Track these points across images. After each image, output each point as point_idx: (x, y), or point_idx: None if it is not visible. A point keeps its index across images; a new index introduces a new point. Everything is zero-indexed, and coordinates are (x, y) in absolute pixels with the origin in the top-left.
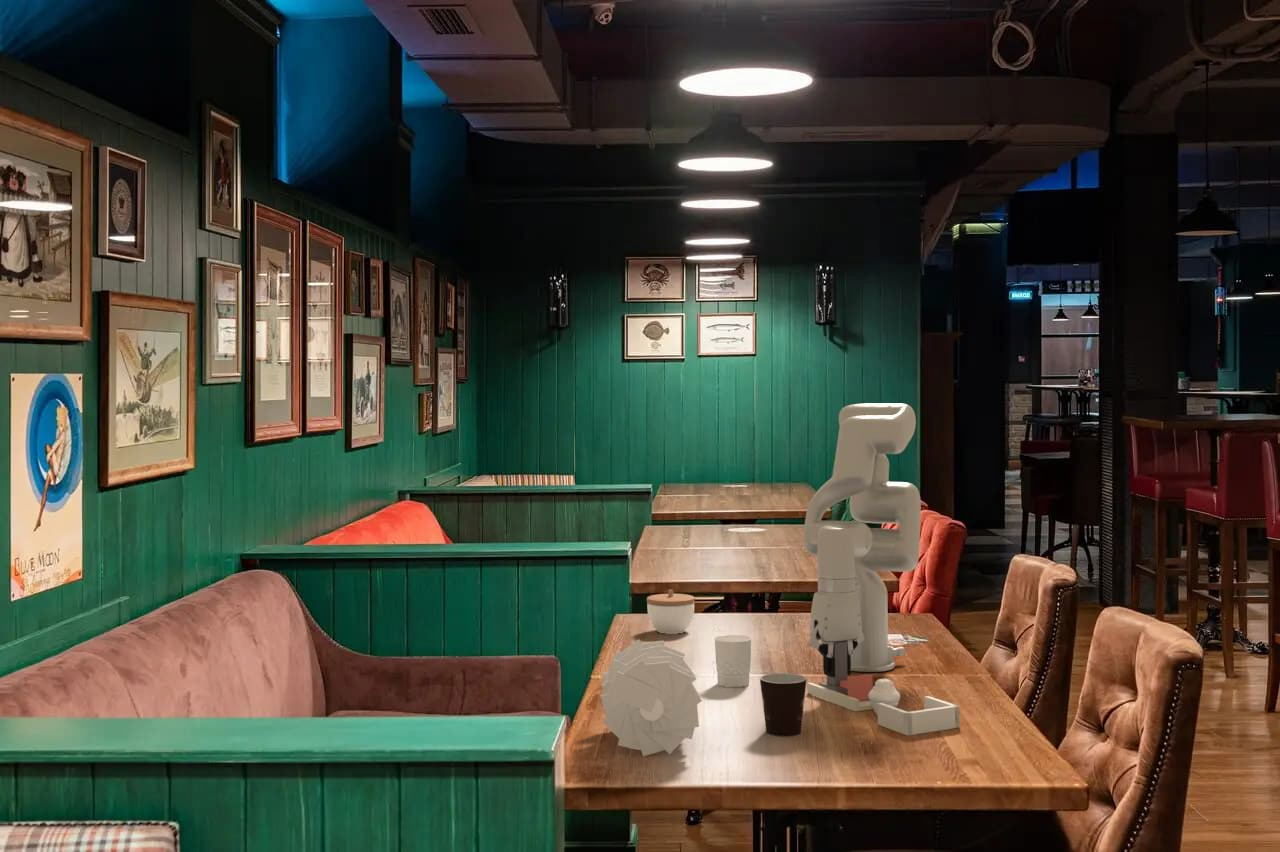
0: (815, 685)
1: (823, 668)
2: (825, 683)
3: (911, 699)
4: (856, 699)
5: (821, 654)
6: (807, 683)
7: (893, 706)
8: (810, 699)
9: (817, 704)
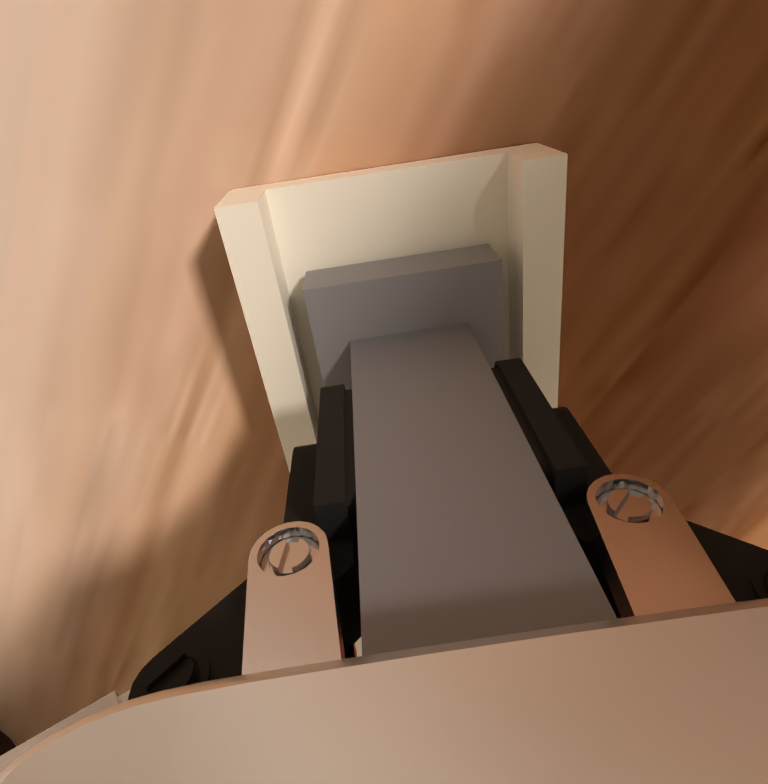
0: (258, 311)
1: (293, 458)
2: (345, 324)
3: (728, 506)
4: (357, 648)
5: (260, 556)
6: (215, 214)
7: None
8: (202, 350)
9: (208, 463)
